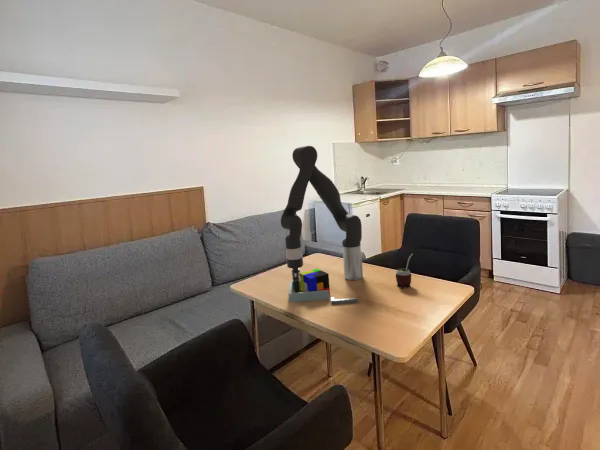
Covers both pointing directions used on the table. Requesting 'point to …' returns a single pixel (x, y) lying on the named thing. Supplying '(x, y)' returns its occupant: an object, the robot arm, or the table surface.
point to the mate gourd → (404, 276)
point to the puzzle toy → (314, 281)
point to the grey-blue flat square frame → (306, 294)
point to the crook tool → (344, 300)
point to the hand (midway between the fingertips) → (297, 289)
